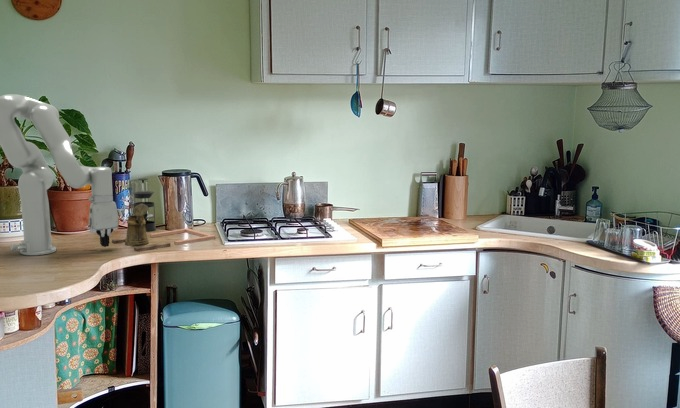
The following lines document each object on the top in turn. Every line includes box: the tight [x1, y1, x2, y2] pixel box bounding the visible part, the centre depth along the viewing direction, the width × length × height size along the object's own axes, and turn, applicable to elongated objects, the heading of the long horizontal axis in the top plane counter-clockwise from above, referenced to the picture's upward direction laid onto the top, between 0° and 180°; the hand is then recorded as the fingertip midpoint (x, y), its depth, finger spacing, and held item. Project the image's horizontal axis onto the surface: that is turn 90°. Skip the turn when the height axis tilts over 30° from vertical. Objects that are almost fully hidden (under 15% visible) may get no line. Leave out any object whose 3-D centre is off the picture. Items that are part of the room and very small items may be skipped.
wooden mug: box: [124, 203, 149, 247], centre depth 273 cm, size 9×14×18 cm, turn 33°
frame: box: [149, 227, 216, 246], centre depth 288 cm, size 18×22×1 cm
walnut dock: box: [111, 237, 171, 253], centre depth 275 cm, size 14×22×1 cm, turn 44°
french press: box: [128, 177, 157, 233], centre depth 302 cm, size 12×9×23 cm
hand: (105, 246), depth 264 cm, fingers closed
